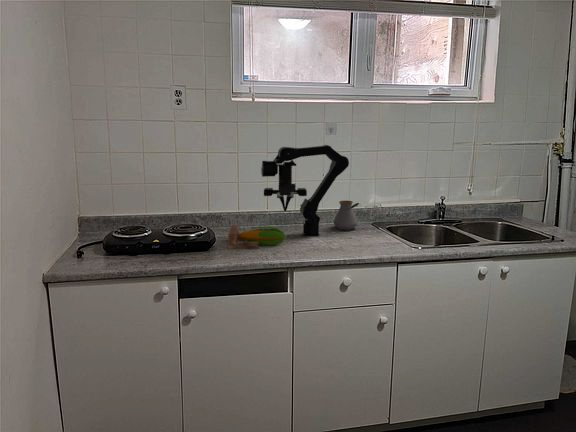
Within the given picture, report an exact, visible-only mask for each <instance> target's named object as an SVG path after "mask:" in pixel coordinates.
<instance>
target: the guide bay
mask: <svg viewBox="0 0 576 432" xmlns="http://www.w3.org/2000/svg"><path fill="white" fill-rule="evenodd" d="M240 233H241V232H240V226H239V225H231V227H230V229H229V231H228V236H227V238H228V241H227V243H228V249H229V250H230V249H237V250H238V249H245V250H246V249H248V250H249V249H256V250H257V249H259V248H260V247H259V246H260V245H259V242H244V240H243V239H240V238H239V237H238V234H240Z"/></svg>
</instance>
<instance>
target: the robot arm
mask: <svg viewBox="0 0 576 432" xmlns="http://www.w3.org/2000/svg"><path fill="white" fill-rule="evenodd" d="M323 155H325V156H327V158H328V159H329V160H330V161H331V163H330V166H329V168H328V171H327V173H326V174H325V175H324V178H323V179H322V180H321V182H320V183H319V185H318V187H317V188H316V189H315V191H314V193H313V194H312V195H311V197H309V198H308V199H307V198H304V199H303V202H302V203H301V204H300V205H299V206H300V208H299V213H300V215H301V216H302V217H303V218H304V223H302V226H303V227H302V233H303V234H304V236H306V237H307V236H310V237H311V236H314V237H315V236H317V237H318V236H320V233H319V231H320V230H319V229H320V222H321V221H320V220H321V217H320V216H319V215H318V214H317V212H318V210H319V204H320V203H321V201H322V199H323V198H324V196H325V195H326V193H327V192H328V190H329V189H330V188H331V186H332V185H333V183H334V182H335V180H336V178H338V176H339V175H341V174H342V173H343V172H345V170H346V169H347V168H348V167H349V165H350V162H349V158H348V157H347V156H345V155H341V154H340V153H339V152H338V151H336V150H335V149H334V148H333V147H332V146H331V145H328V144H324V145H317V146H307V147H306V146H305V147H289V146H283V147H281V146H280V148H279V149H278V151H277V155H276V157H275V158H274V159H273V160H262V161H261V162H262V163H261V167H260V168H261V169H260V170H261V171H260V172H261V173H260V174H261V177H263V178H264V177H265V178H267V177H269V178H270V177H276V175H278V189H274V188H273V187H265V188H264V189H263V196H264V197H272V196H273V195H276V198H277V199H279V200H280V203H281V205H282V208H283V211H284V212H287V210H288V206H289V203H290V201H291V200H292V199H293V198H294V195H298V196H299V197H307V196H308V194H307V193H308V192H307V189H306V187H297V189H296V183H293V179H292V178H293V177H292V176H293V174H292V173H293V167H296V166H297V163H295V162H294V160H295V159H298V158H304V157H313V156H323ZM285 196H286V198H285ZM285 199H286V200H285Z"/></svg>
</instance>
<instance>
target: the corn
mask: <svg viewBox="0 0 576 432" xmlns="http://www.w3.org/2000/svg"><path fill="white" fill-rule="evenodd" d="M239 233H240V234H238V237H239V238H240V239H243V240H242V241H243V242H259V246H277V245H280V244H281V243H282V242H284V241H285V240H286V239H285V238H286V234H285V233H284V231H283V230H281V229H279V228H278V227H275V226H254V227H251V230H245V231H241V232H239Z"/></svg>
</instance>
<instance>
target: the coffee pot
mask: <svg viewBox="0 0 576 432" xmlns="http://www.w3.org/2000/svg"><path fill="white" fill-rule="evenodd" d="M338 203H339V205H340V207H339V208H338V211H337V213H336V216H335V218H334V220H333V225H334V226H335V227H337V229H338V230H341V231H351V230H354V228H356V227H358V224H359V221H358V220H357V217H356V214H355V211H354V209H353V208H358V207H361V204H360V203H359V202H356V203H354V202H353V201H352V200H340V201H338ZM353 203H354V204H353Z"/></svg>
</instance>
